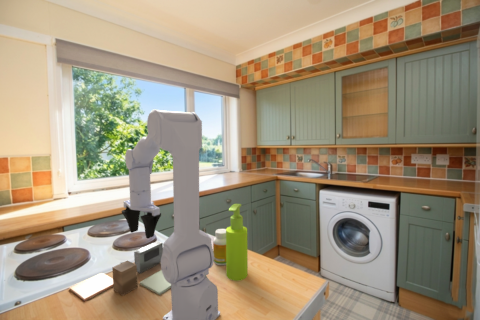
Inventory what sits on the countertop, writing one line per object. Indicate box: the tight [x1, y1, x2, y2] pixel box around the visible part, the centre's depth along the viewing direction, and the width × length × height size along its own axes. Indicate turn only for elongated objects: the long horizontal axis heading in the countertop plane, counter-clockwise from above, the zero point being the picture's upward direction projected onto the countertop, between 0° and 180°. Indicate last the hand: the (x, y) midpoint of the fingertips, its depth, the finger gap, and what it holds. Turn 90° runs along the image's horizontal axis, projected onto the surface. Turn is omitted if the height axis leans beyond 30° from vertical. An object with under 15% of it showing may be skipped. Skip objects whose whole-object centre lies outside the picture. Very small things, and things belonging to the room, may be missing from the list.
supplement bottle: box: [212, 228, 226, 266], centre depth 73 cm, size 5×5×10 cm
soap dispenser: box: [225, 203, 249, 282], centre depth 65 cm, size 6×7×20 cm
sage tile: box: [139, 269, 171, 296], centre depth 64 cm, size 8×8×1 cm
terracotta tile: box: [69, 272, 113, 302], centre depth 61 cm, size 8×8×1 cm
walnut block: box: [112, 260, 138, 297], centre depth 60 cm, size 4×4×6 cm
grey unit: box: [133, 240, 164, 275], centre depth 71 cm, size 3×8×6 cm, turn 147°
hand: (141, 234), depth 72 cm, fingers open, 7 cm apart
